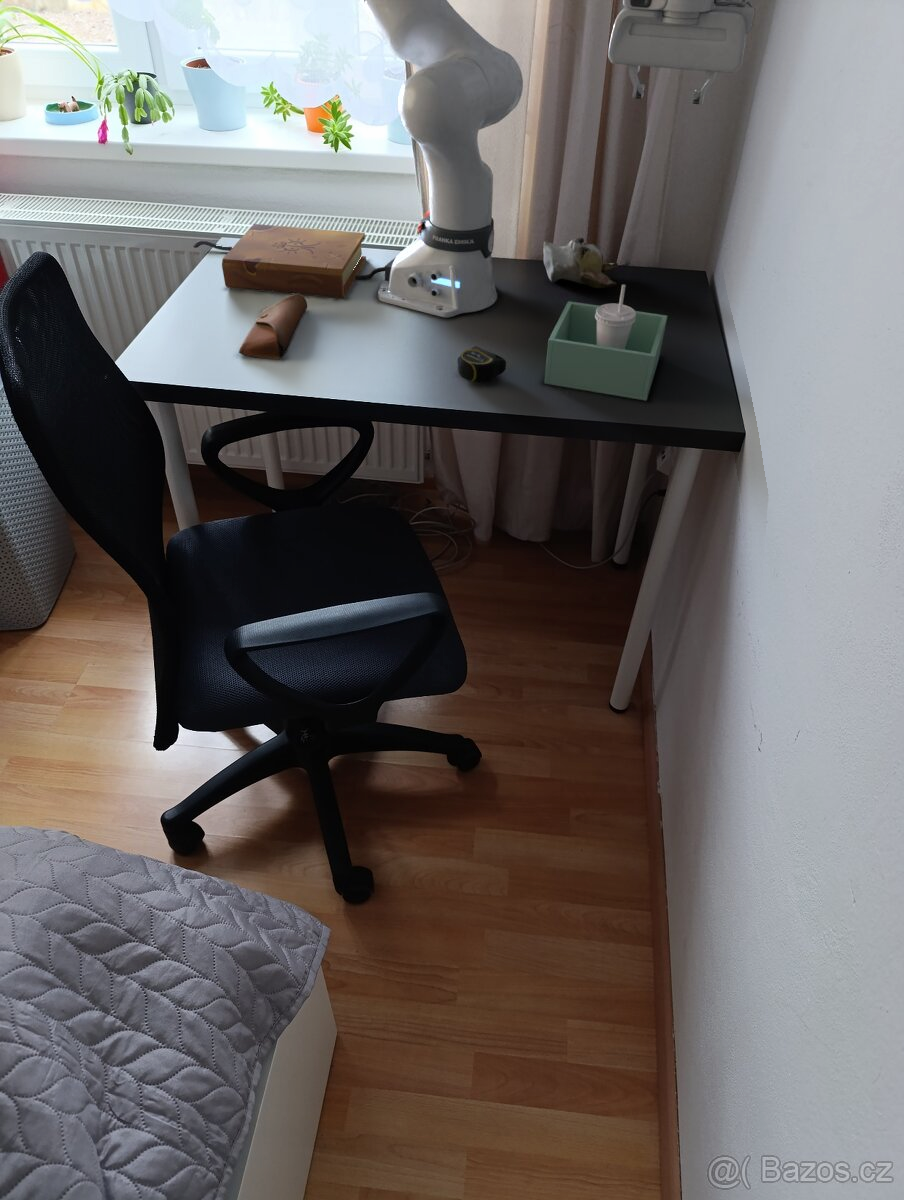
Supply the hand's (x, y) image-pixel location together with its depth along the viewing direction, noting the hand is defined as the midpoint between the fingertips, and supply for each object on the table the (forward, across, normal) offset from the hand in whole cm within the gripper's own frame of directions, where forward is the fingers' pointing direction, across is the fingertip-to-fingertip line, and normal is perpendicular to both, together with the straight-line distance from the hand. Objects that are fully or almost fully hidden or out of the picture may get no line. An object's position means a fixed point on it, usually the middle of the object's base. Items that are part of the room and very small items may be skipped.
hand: (667, 100), depth 131 cm
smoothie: (+34, 0, +25) cm, 42 cm away
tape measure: (+34, +20, +33) cm, 52 cm away
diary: (+34, +65, +7) cm, 74 cm away
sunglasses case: (+34, +58, +31) cm, 74 cm away
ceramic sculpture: (+34, +12, -8) cm, 37 cm away
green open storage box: (+34, +1, +25) cm, 42 cm away
